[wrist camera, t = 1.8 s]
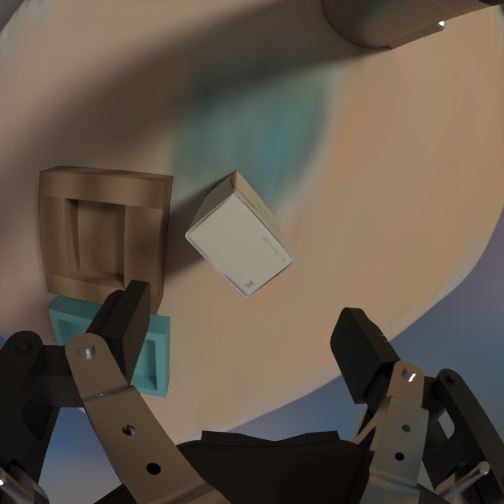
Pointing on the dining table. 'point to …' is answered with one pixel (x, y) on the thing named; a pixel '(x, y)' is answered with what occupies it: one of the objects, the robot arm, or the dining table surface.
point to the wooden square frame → (103, 231)
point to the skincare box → (240, 236)
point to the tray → (152, 353)
